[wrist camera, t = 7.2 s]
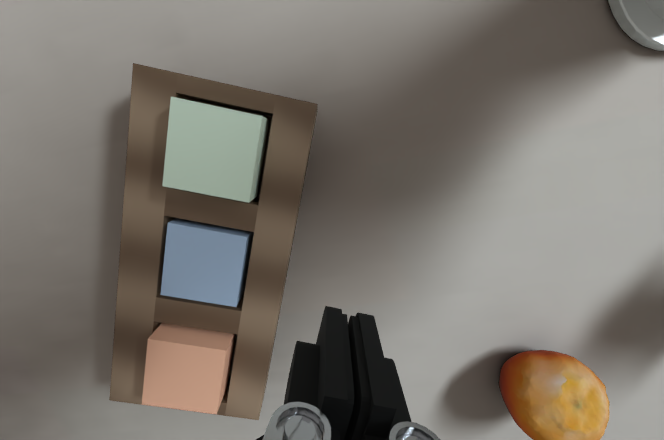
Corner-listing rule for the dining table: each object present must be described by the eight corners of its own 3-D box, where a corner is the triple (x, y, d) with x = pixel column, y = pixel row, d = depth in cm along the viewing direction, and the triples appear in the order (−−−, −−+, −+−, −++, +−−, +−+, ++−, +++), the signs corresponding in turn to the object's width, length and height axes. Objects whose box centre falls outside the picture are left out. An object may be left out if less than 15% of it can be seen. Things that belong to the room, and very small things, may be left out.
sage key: (189, 102, 23) (170, 96, 20) (269, 119, 23) (262, 116, 20) (181, 181, 24) (162, 186, 21) (257, 196, 24) (249, 202, 21)
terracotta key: (166, 317, 26) (147, 338, 23) (236, 328, 27) (226, 350, 24) (160, 376, 27) (141, 404, 24) (227, 386, 28) (216, 414, 25)
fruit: (486, 433, 32) (541, 466, 24) (476, 346, 34) (523, 351, 27) (565, 433, 32) (644, 466, 25) (549, 348, 35) (617, 353, 27)
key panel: (162, 76, 25) (133, 63, 21) (317, 110, 26) (317, 104, 22) (136, 367, 30) (109, 400, 26) (265, 385, 31) (258, 420, 27)
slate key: (184, 214, 26) (167, 222, 23) (254, 227, 26) (247, 237, 23) (177, 278, 27) (160, 294, 24) (244, 290, 27) (236, 307, 25)
